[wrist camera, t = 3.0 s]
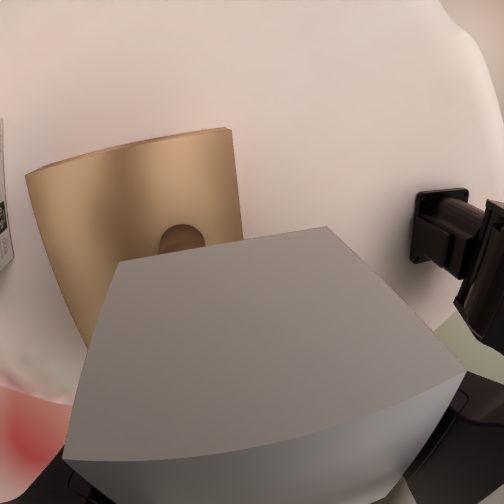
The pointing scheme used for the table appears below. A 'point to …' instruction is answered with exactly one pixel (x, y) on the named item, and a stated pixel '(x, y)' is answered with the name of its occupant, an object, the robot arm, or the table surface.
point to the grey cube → (256, 378)
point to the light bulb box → (3, 214)
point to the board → (132, 210)
